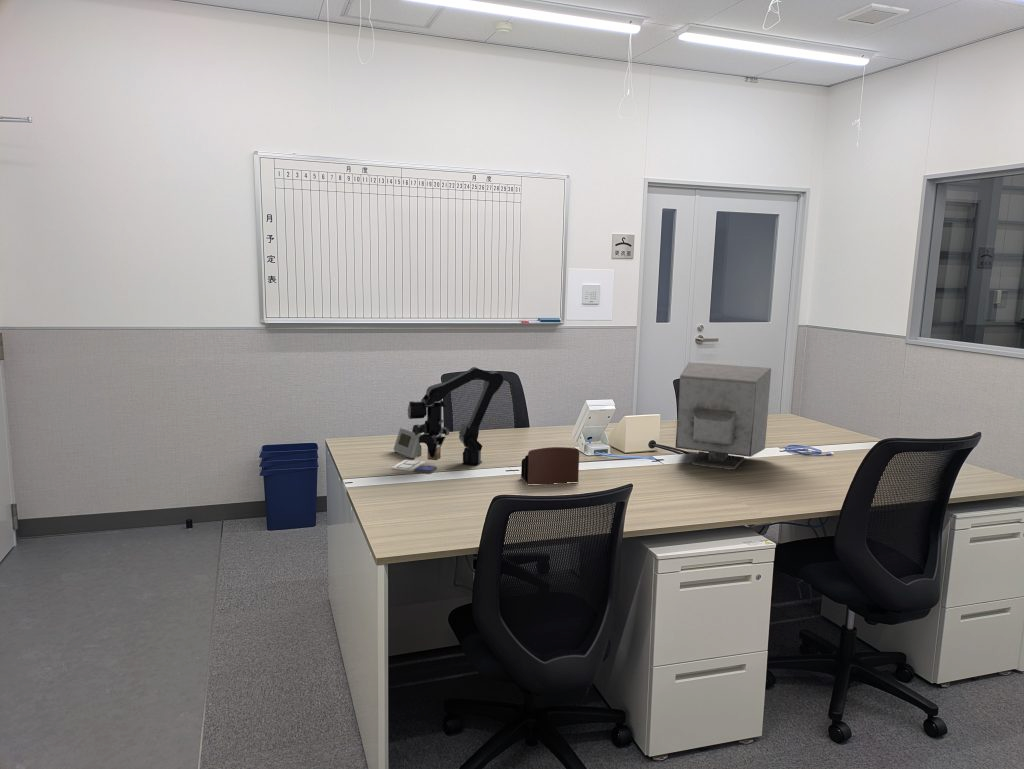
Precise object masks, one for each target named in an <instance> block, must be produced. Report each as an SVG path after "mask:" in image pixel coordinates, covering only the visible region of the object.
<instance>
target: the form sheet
mask: <svg viewBox="0 0 1024 769" xmlns="http://www.w3.org/2000/svg"><path fill="white" fill-rule="evenodd" d="M425 464H426V461H423V460H413V459H403V460H402V461H400V462H399V463H396V464H395V465H393V466H392V467H391V469H392V470H397V471H398V470H401V471H409V472H413V471H414V469H416V468H417V467H419V466H420V465H425Z"/></svg>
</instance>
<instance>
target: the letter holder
mask: <svg viewBox="0 0 1024 769" xmlns="http://www.w3.org/2000/svg"><path fill="white" fill-rule="evenodd" d="M579 467H580V450H579V449H578V448H575V447H566V446H565V447H562V446H561V447H559V446H557V447H556V446H552V447H541V448H537V449H531V450H528V452H527V455H525V457H524V458H523V459H522V460H521V468H520V469H521V471H520V478H521V480H522V479H523V480H524V481H525V482H526V483H527V484H547V485H555V484H554V483H567V482H578V483H579V471H580V470H579V469H580V468H579ZM523 480H522V481H523ZM524 481H523V482H524ZM525 482H524V483H525ZM526 483H525V484H526ZM527 484H526V485H527Z"/></svg>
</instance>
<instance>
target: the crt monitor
mask: <svg viewBox="0 0 1024 769" xmlns="http://www.w3.org/2000/svg"><path fill="white" fill-rule="evenodd" d="M771 375H772V368H771V367H760V366H759V367H758V366H746V365H744V366H743V365H734V364H733V365H731V364H720V363H719V364H716V363H707V362H706V363H703V362H691V361H690V362H689V361H688V363H687V364H686V366H685V368H684V369H683V371H682V372H681V374H680V375H679V385H678V386H679V387H678V388H679V389H678V401H677V404H678V405H677V419H676V434H675V448H676V449H682V450H684V449H685V450H691V451H692V450H693V451H698V453H697V454H696V456H695V458H694V460H693V461H692V463H691V464H692V465H693V466H699V465H701V467H707V466H709V467H708V468H715V467H716V468H717V469H722V468H724V469H725V470H730V469H734V470H735V469H736V468H737V467H738V466H739V465H740V464H741V463H742V462H743V461H744V460H745V459H746V458H745V457H750V458H751V457H753V456H755V455H757V454H758V453H760V452H762V451H764V450H765V449H766V439H767V426H768V414H769V403H770V402H769V401H770V389H771ZM724 469H723V470H724Z"/></svg>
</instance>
